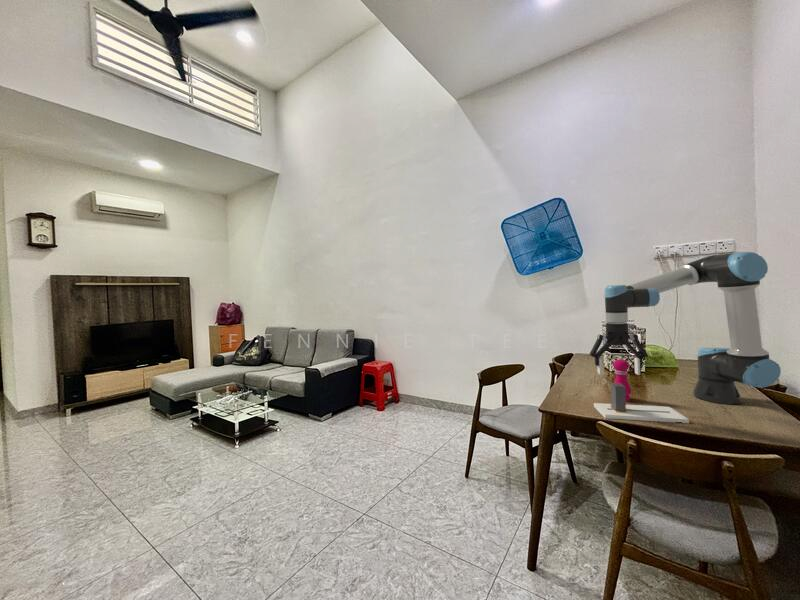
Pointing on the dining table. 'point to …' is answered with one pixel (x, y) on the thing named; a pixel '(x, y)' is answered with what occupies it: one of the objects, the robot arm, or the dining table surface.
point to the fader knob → (618, 397)
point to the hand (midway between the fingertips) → (618, 373)
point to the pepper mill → (622, 375)
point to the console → (641, 413)
